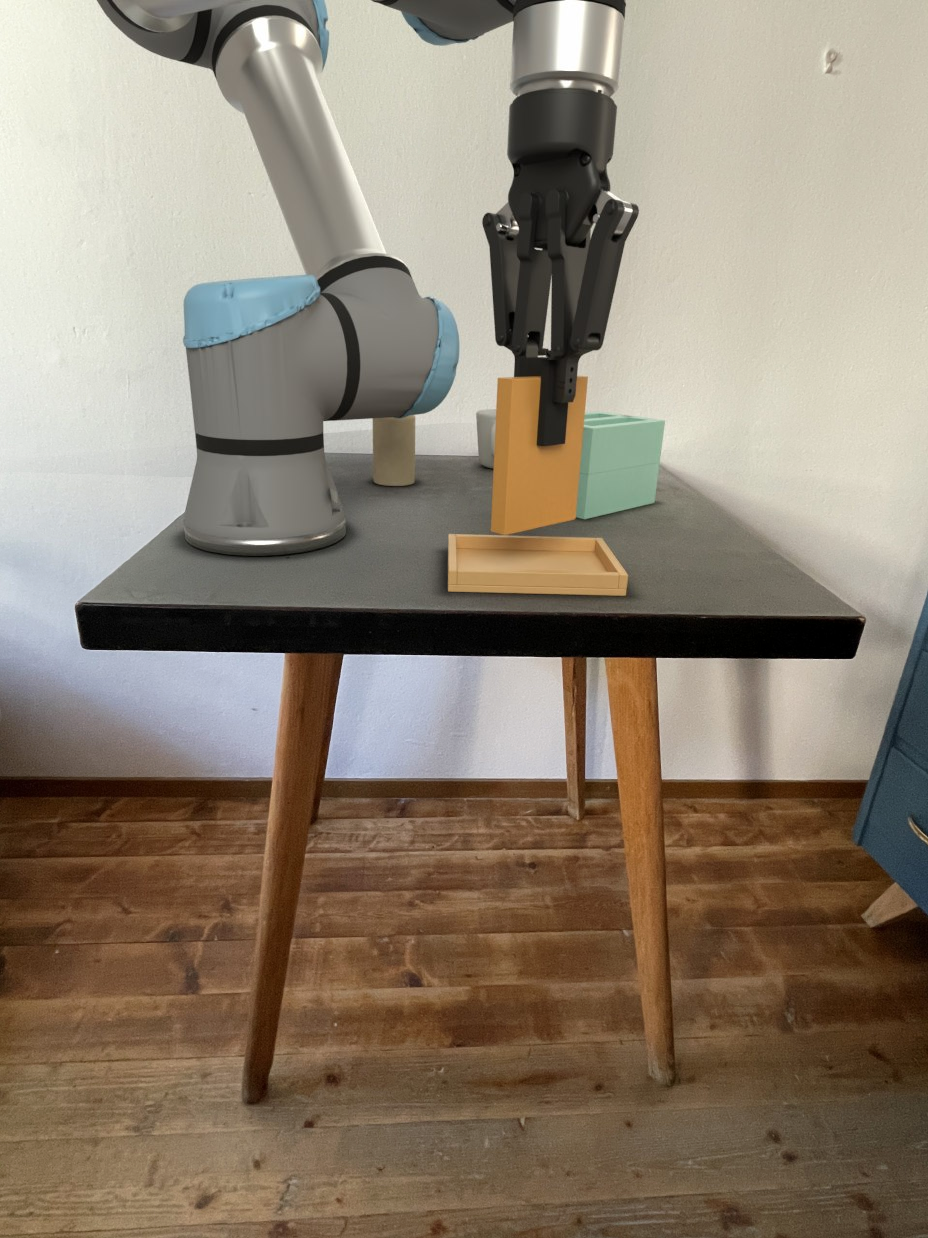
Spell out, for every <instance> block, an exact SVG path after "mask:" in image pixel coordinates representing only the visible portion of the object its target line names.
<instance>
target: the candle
mask: <svg viewBox="0 0 928 1238" xmlns="http://www.w3.org/2000/svg"><path fill="white" fill-rule="evenodd" d="M372 472H373V473H372V476H373V478H372V479H373V482H374V483H375V484H376V485H379V486H380V485H381V486H387V487H388V486H390V487H403V486H409V485H413V484H415V481H416V415H409V416H407V417H404V418H401V419H396V418H394V417H389V418H372Z"/></svg>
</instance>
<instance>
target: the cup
mask: <svg viewBox="0 0 928 1238" xmlns="http://www.w3.org/2000/svg"><path fill="white" fill-rule="evenodd" d="M475 416H476V417H475V418H476V436H477V451H478V452H477V453H478V460H479V462H480V463H479V464H481V465H482V466H483V467H485V468H489V469H492V470H494V449H495V427H496V408H492V409H491V408H489V409H488V408H486V409H480V410H477V411H476V413H475Z"/></svg>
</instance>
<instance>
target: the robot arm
mask: <svg viewBox="0 0 928 1238" xmlns="http://www.w3.org/2000/svg"><path fill="white" fill-rule="evenodd" d="M370 1H371V2H373V3H376V4H380V5H382V6H384V7H388V8H391V9H393V10H396V11H399V12H400V13H401V15H402V17H403V19H404V21H405V22H406V23H407V25H409V26H410V27H411V28H412V30H413V31H414V32H415V33H416V34H417V35H418V37H419V38H420V39H421V40H422V41H424V42H425V43H427V44H430V45H433V46H438V47H440V46H441V47H443V46H444V47H445V46H446V47H447V46H450V45H453V44H466V43H467V42H469V41H471V40H472V41H474V40H476V39H479V38H480V37H481V36H484V35H485V34H487V33H490V32H491V31H494V30H496V29H498V28H501V27H503V26H505V25H508V24H510V23H512V22H513V25H512V26H513V27H512V28H513V29H512V44H511V59H510V78H509V79H510V80H509V81H510V82H509V90H510V91H511V93H512V94H513V95H515V98H514V99H513V100H512V102H511V103H510V105H509V107H508V125H507V126H508V128H507V147H506V148H507V149H506V155H507V158H508V160H509V162H510V164H511V166H512V170H513V178H512V181H511V185H510V188H509V190H508V192H507V193H508V194H507V202H506V204H504V206H502V207H501V208H500V209H499V210H498V211H497V212H496V213H493V212H486V213H485V214H484V215H483V217H482V219H481V223H482V228H483V231H484V234H485V237H486V240H487V243H488V247H489V261H490V276H491V277H490V278H491V292H492V309H493V322H494V323H493V324H494V325H493V326H494V337H495V338H494V339H495V343H496V345H497V346H498V347H504V348H506V349H508V350H509V351H510V352H511V353H512V354H513V357H514V366H513V368H514V370H513V377H534V376H541V385H540V400H539V415H538V430H537V445H538V446H551V445H559V444H565V439H566V426H567V414H568V402H573V401H574V398H575V396H576V382H577V376H578V371H579V370H578V369H579V361H580V359H581V358H582V356H584V355H586V354H588V353H591V352H594V351H600V350H601V349H602V347H603V344H604V341H605V336H606V332H607V326H608V322H609V318H610V313H611V308H612V304H613V299H614V295H615V291H616V286H617V281H618V276H619V272H620V267H621V263H622V259H623V253H624V249H625V245H626V241H627V240H628V238H629V235H630V234H631V231H632V230H633V227H634V226H635V224H636V221H637V219H638V217H639V214H640V209H639V206H638V205H637V204H636V203H633V202H629V201H625V200H623V199H621V198H620V197H618V196H616V195H615V194H614V193H612V192H611V182H610V178H609V175H608V170H607V166H608V164H610V162H611V161H612V159H613V156H614V147H615V137H616V136H615V135H616V127H617V125H616V124H617V116H618V115H617V114H618V106H617V104H616V103H615V100H614V99H613V98H612V96H613V95H614V94H615V93H616V92H617V91H618V90H619V88H620V77H621V76H620V75H621V65H622V53H623V41H624V32H625V31H624V29H625V19H626V7H627V3H626V0H370ZM96 2H97V4H98V6H99V7H100V8H101V10H102V11H103V13H104V15H105V16H106V17H107V18H108V19H109V20H110V22H111V23H112V24H113V25H114V26H115V27H116V28H117V29H118V30H120V32H121V33H122V34H123V35H125V36H126V37H127V38H128V39H130V40H131V41H132V42H134V43H135V44H136V45H138V46H140V47H142V48H143V49H145V50H146V51H148V52H150V53H153V54H155V55H158V56H160V57H163V58H166V59H168V60H173V61H177V62H180V63H184V64H188V65H192V66H197V67H201V68H204V69H209V70H211V71H212V73H213V75H214V78H215V80H216V82H217V85H218V88H219V90H220V92H221V94H222V96H223V98H224V100H226V102H227V103H228V104H229V105H230V106H231V107H233V109H235V110H236V111H238V112H240V113H241V114H244V117H245V119H246V122H247V124H248V128H249V130H250V132H251V135H252V138H253V140H254V143H255V145H256V149H257V150H258V153H259V156H260V158H261V161H262V163H263V166H264V169H265V172H266V175H267V177H268V179H269V182H270V185H271V187H272V190H273V193H274V195H275V198H276V200H277V203H278V205H279V208H280V210H281V214H282V216H283V219H284V221H285V224H286V227H287V229H288V232H289V234H290V238H291V239H292V242H293V245H294V247H295V250H296V253H297V255H298V258H299V260H300V263H301V265H302V269H303V271H304V274H292V275H281V276H268V277H251V278H241V279H230V280H228V279H227V280H220V281H208V282H200V283H197V284H195V285H193V286H192V287H190V288H189V289H188V291H186V293H185V296H184V298H183V321H184V324H183V325H184V335H183V339H182V343H183V346H184V347H185V353H186V363H187V371H188V380H189V389H190V399H191V400H190V401H191V408H192V416H193V417H192V419H193V429H194V435H195V436H194V437H195V447H196V461H195V466H194V471H193V475H192V479H191V484H190V487H189V492H188V497H187V502H186V504H185V510H184V514H183V529H184V538H185V541H186V542H187V543H188V544H190V545H191V546H193V547H195V548H197V549H200V550H203V551H206V552H211V553H215V554H223V555H233V556H248V557H249V556H257V557H258V556H280V555H289V554H297V553H298V554H299V553H305V552H309V551H314V550H317V549H322V548H325V547H328V546H332V545H333V544H335V543H337V542H339V541H340V540H342V539H343V538H344V537H345V535H346V533H347V527H346V526H347V523H346V514H345V510H344V506H343V503H342V501H341V498H340V495H339V493H338V489H337V487H336V484H335V481H334V478H333V476H332V472H331V470H330V468H329V465H328V462H327V459H326V455H325V439H324V438H325V437H324V435H325V434H324V422H336V421H351V420H352V421H353V420H368V419H369V420H371V419H373V418H389V417H394V418H396V419H401V418H404V417H407V416H409V415H414V416H417V415H425V414H427V413H430V412H432V411H433V410H435V409H436V408H438V407H439V406H440V405H441V404H442V403H443V401H445V399H446V397H447V396H448V395H449V392H450V390H451V389H452V386H453V384H454V382H455V379H456V376H457V367H458V364H459V361H460V334H459V328H458V324H457V321H456V319H455V316H454V313H453V312H452V311H451V309H450V307H448V305H447V304H446V303H444V302H443V301H442V300H438V299H437V298H434V297H432V296H426V297H423V296H421V295H420V293H419V291H418V289H417V286H416V283H415V281H414V279H413V276H412V274H411V271H410V269H409V267H408V265H407V264H406V263H405V262H404V261H403V260H402V259H401V258H399V257H397V256H395V255H392V254H389V253H387V252H386V249H385V246H384V243H383V242H382V239H381V236H380V234H379V231H378V229H377V226H376V223H375V221H374V219H373V216H372V214H371V211H370V209H369V206H368V204H367V201H366V199H365V196H364V194H363V191H362V189H361V186H360V184H359V182H358V178H357V176H356V173H355V172H354V171H355V170H354V169H353V167H352V164H351V161H350V159H349V156H348V154H347V152H346V149H345V146H344V144H343V141H342V139H341V136H340V134H339V131H338V128H337V126H336V124H335V123H336V122H335V121H334V119H333V116H332V114H331V113H332V112H331V111H330V109H329V106H328V104H327V101H326V98H325V96H324V94H323V91H322V89H321V86H320V80H321V78H322V74H323V71H324V69H325V66H326V63H327V59H328V55H329V47H330V30H329V29H327V25H326V24H327V22H328V21H329V15H328V9H327V8H328V7H327V5H326V0H96ZM594 224H595V225H594ZM593 226H594V228H593ZM592 228H593V229H592ZM591 231H592V233H591ZM550 291H551V293H550ZM550 294H551V297H550ZM549 299H550V301H551V303H550V307H551V308H550V312H551V313H550V349H549V348H545V347H544V340H545V331H546V325H547V317H548V308H549V307H548V306H549Z"/></svg>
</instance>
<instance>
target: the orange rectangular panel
mask: <svg viewBox="0 0 928 1238" xmlns="http://www.w3.org/2000/svg"><path fill="white" fill-rule="evenodd" d="M588 380H589V376H586V375H577V382H576V396H575V398H574V401H573V402H568V414H567V426H566V439H565V444H559V445H551V446H538V445H537V430H538V415H539V400H540V385H541V376H534V377H514V376H509V377H508V376H506V377H498V378H497V386H496V388H497V389H496V405H495V406H496V407H495V409H496V427H495V449H494V469H493V473H492V474H493V476H492V494H491V495H492V496H491V515H490V516H491V519H490V520H491V521H490V532H492V533H495V534H497V535H507V536H509V535H513V534H517V533H522V532H526V531H529V530H534V529H538V528H542V527H543V528H544V527H547V526H552V525H556V524H561V523H564V522H569V521H573V520H576V518H577V517H576V507H577V496H578V485H579V473H580V462H581V451H582V439H583V428H584V417H585V413H586V406H587V405H586V404H587V393H588V383H589V381H588Z"/></svg>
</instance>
